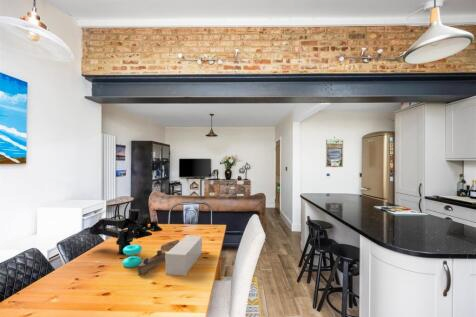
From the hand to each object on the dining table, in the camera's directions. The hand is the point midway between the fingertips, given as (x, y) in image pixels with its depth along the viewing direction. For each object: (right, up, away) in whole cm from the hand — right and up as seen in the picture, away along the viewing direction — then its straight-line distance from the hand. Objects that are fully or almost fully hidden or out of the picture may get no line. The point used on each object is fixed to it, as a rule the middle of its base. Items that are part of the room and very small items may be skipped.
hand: (157, 231), depth 148 cm
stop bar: (+2, -16, -13) cm, 20 cm away
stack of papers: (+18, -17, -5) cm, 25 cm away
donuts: (-11, -16, -9) cm, 22 cm away
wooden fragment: (+2, -17, +24) cm, 29 cm away
